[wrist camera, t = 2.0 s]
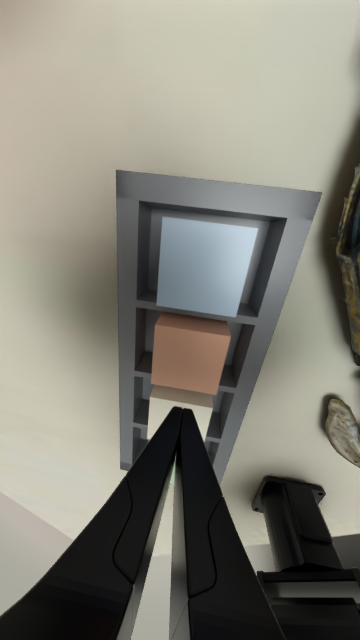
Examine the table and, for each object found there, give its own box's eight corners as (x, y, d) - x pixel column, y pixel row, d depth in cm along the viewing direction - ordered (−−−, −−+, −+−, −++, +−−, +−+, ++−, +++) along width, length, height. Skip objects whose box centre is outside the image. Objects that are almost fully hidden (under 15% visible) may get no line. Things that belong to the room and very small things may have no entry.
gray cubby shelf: (216, 457, 22) (218, 489, 19) (130, 441, 23) (120, 469, 20) (295, 202, 12) (322, 192, 9) (135, 184, 12) (116, 169, 10)
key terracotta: (214, 371, 15) (216, 395, 13) (158, 362, 15) (150, 383, 13) (226, 320, 13) (230, 336, 11) (163, 310, 14) (155, 324, 11)
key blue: (230, 303, 13) (235, 317, 11) (164, 293, 13) (156, 305, 11) (247, 229, 11) (258, 228, 9) (170, 220, 11) (162, 216, 9)
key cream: (202, 422, 17) (202, 449, 15) (154, 413, 18) (146, 438, 15) (211, 384, 15) (212, 408, 13) (157, 374, 16) (149, 397, 14)
